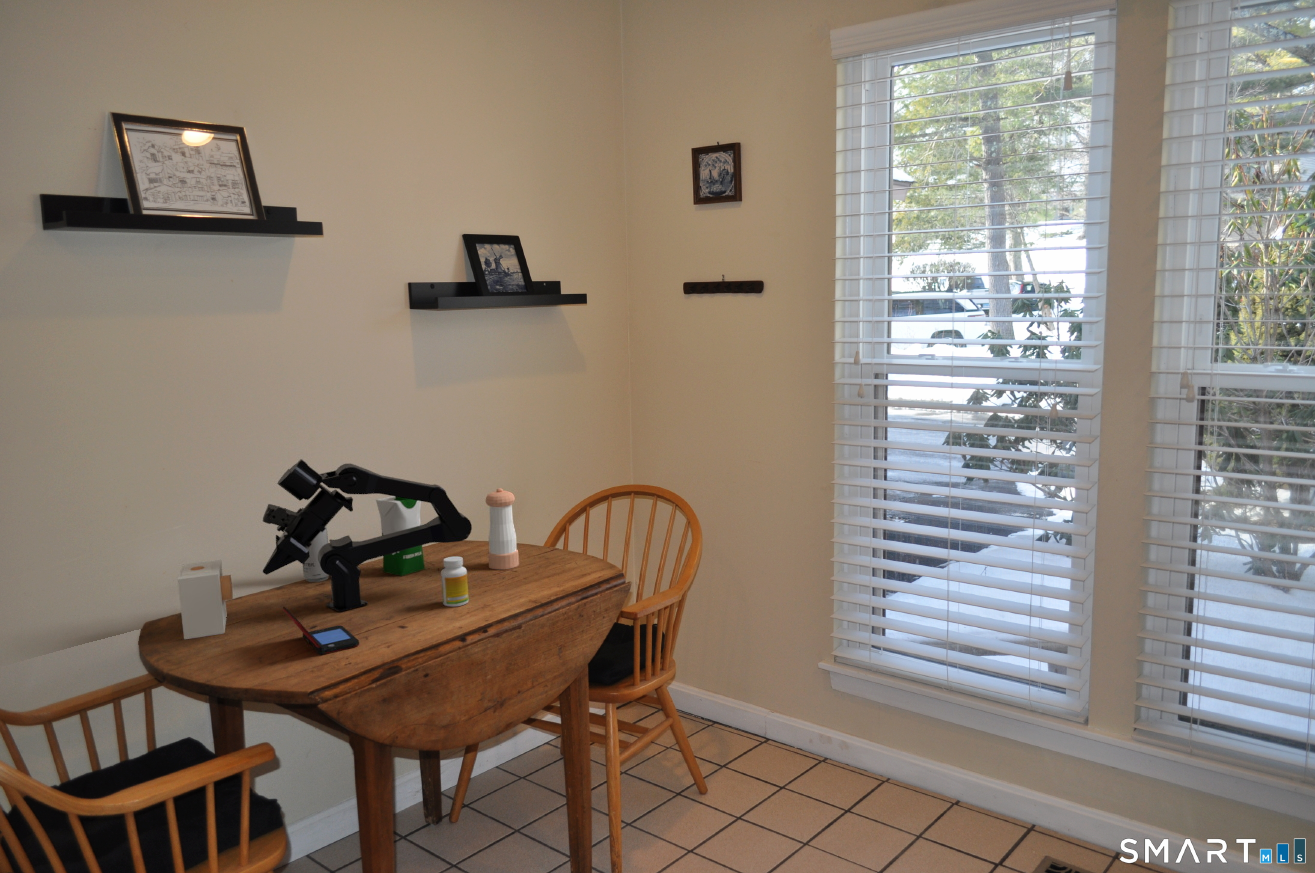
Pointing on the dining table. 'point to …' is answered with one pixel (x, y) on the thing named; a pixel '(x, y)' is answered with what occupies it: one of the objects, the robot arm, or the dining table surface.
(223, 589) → the button
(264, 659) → the dining table surface
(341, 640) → the handheld game console
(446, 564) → the supplement bottle
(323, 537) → the energy drink can
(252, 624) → the dining table surface
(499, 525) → the pepper shaker
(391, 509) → the milk carton
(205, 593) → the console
